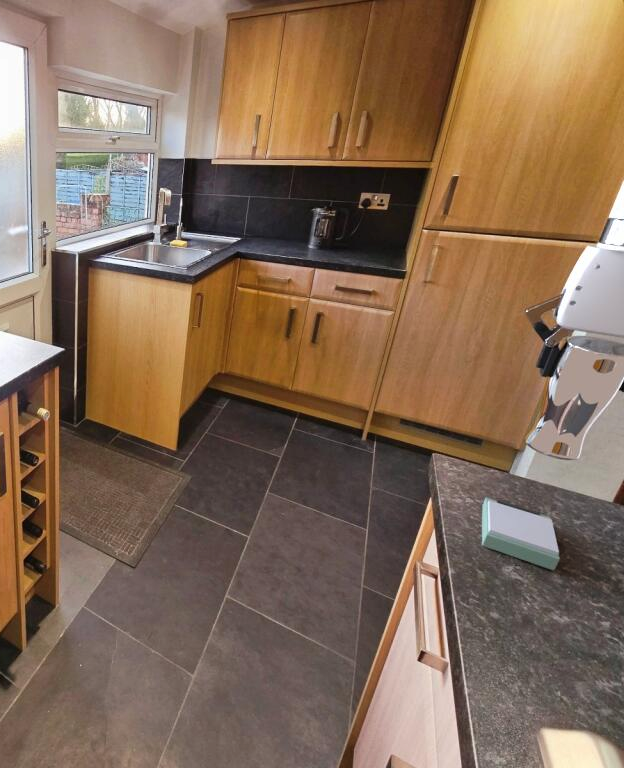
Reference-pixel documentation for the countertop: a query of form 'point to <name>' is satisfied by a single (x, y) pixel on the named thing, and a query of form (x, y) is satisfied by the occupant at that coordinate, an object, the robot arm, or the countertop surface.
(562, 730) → the countertop surface
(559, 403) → the beer glass
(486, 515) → the scale
